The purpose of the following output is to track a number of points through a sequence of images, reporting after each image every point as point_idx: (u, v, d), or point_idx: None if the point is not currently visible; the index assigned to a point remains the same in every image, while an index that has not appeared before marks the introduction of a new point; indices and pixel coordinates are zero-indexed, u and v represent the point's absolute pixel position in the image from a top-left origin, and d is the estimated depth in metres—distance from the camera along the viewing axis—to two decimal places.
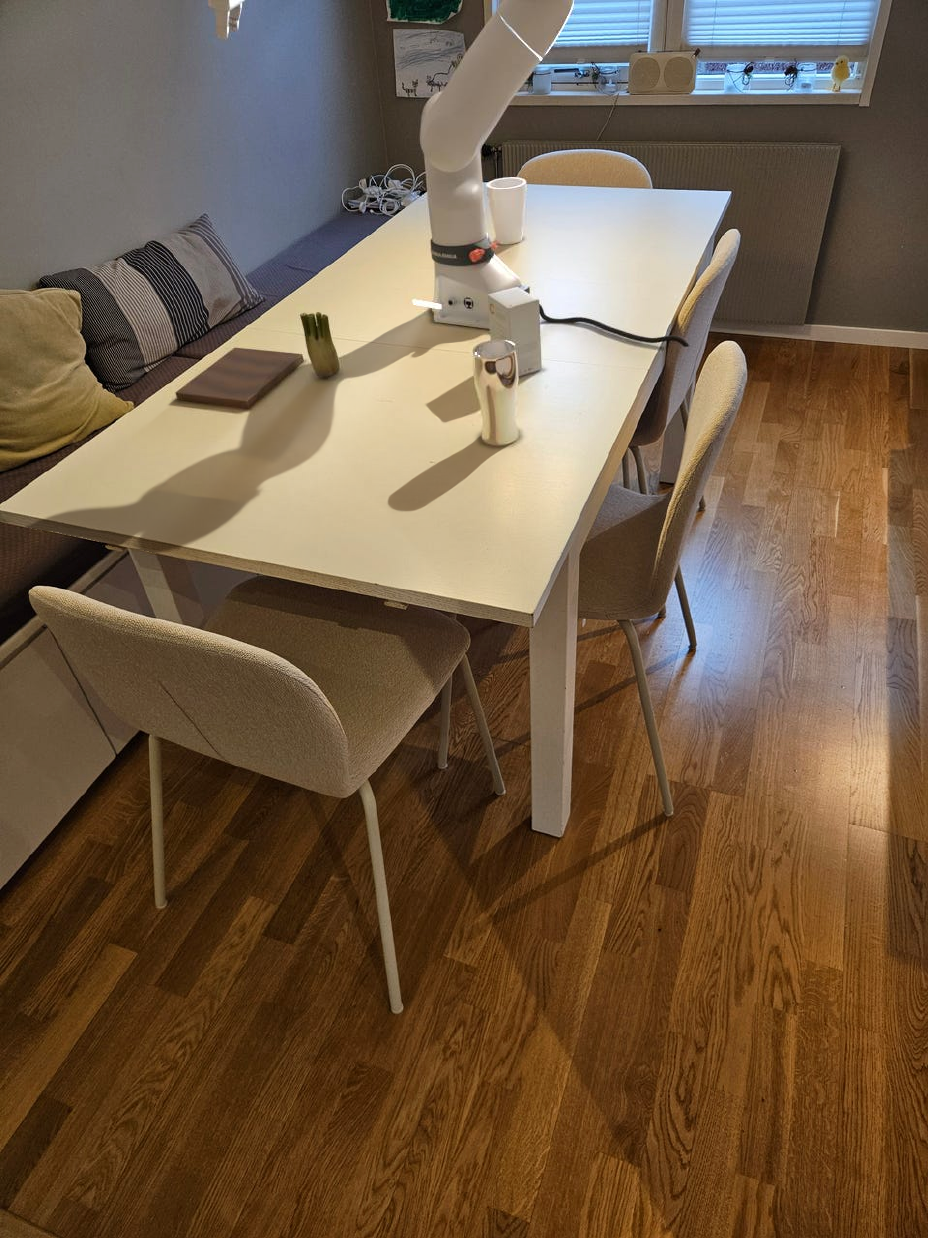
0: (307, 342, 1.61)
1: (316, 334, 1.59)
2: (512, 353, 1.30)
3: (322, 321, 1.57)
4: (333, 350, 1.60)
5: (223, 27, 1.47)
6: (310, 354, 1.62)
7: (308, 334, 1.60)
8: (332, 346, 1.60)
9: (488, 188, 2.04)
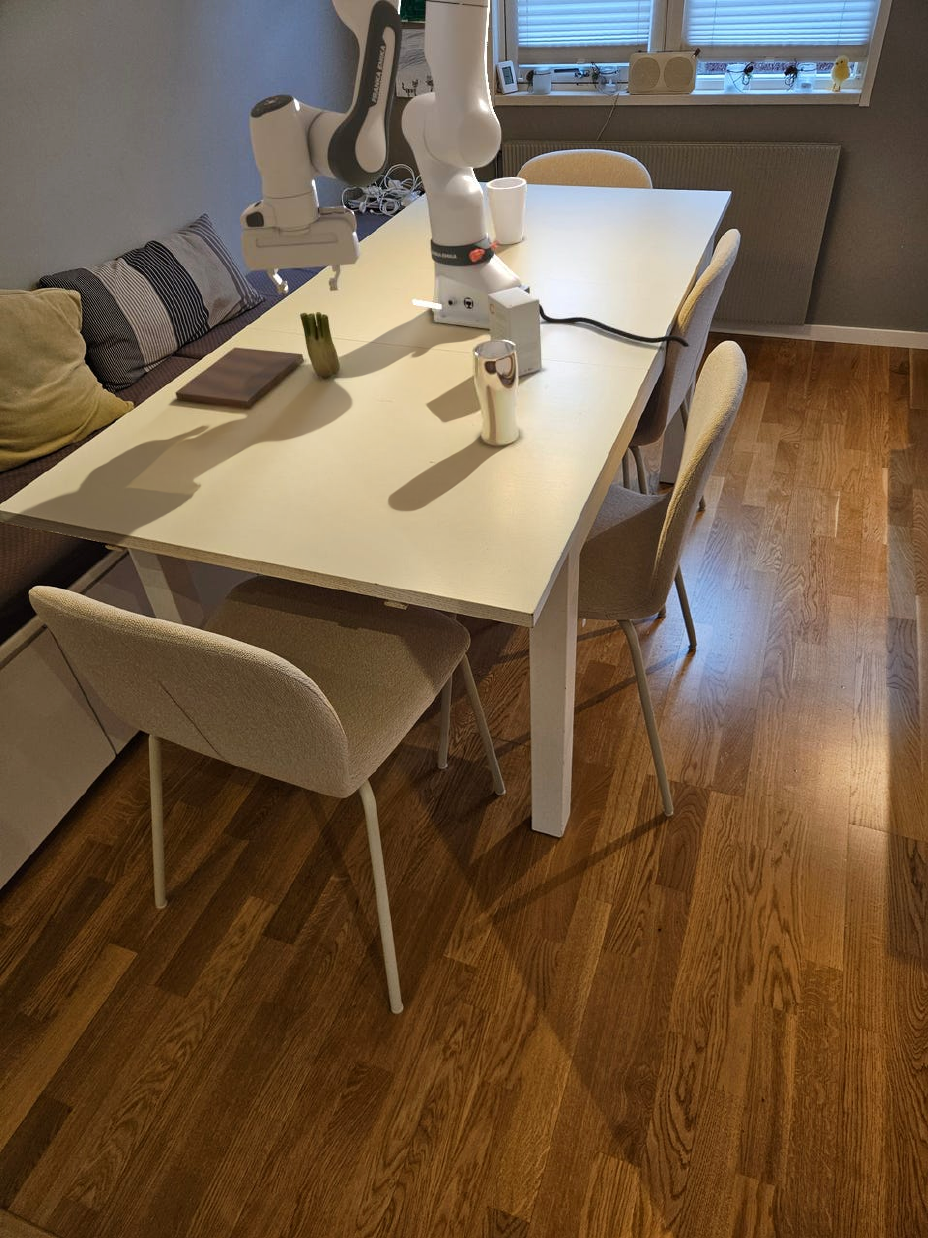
0: (307, 342, 1.61)
1: (316, 334, 1.59)
2: (512, 353, 1.30)
3: (322, 321, 1.57)
4: (333, 350, 1.60)
5: (338, 279, 1.53)
6: (310, 354, 1.62)
7: (308, 334, 1.60)
8: (332, 346, 1.60)
9: (488, 188, 2.04)
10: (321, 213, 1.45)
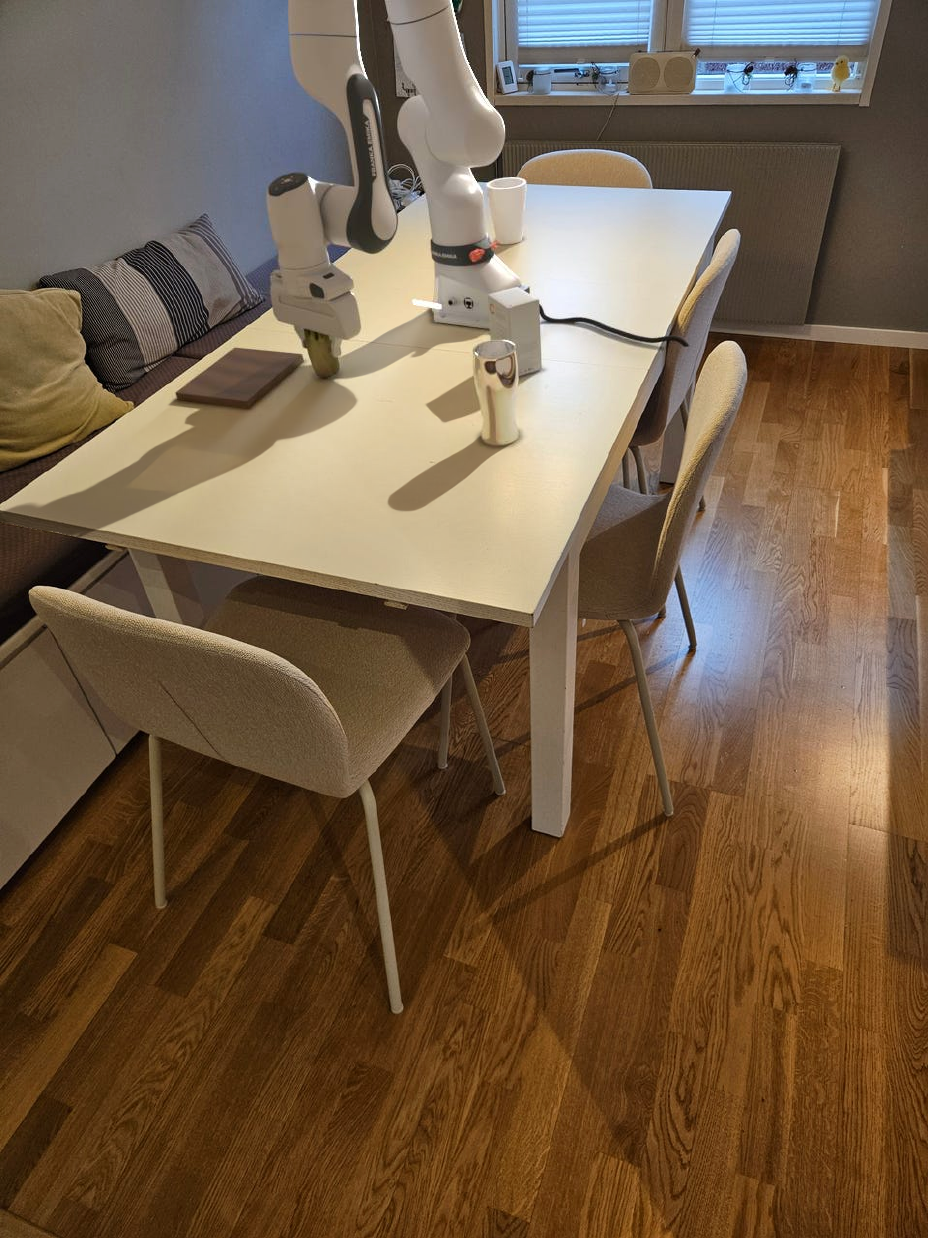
0: (307, 342, 1.61)
1: (316, 334, 1.59)
2: (512, 353, 1.30)
3: None
4: None
5: None
6: (310, 354, 1.62)
7: (308, 334, 1.60)
8: None
9: (488, 188, 2.04)
10: None
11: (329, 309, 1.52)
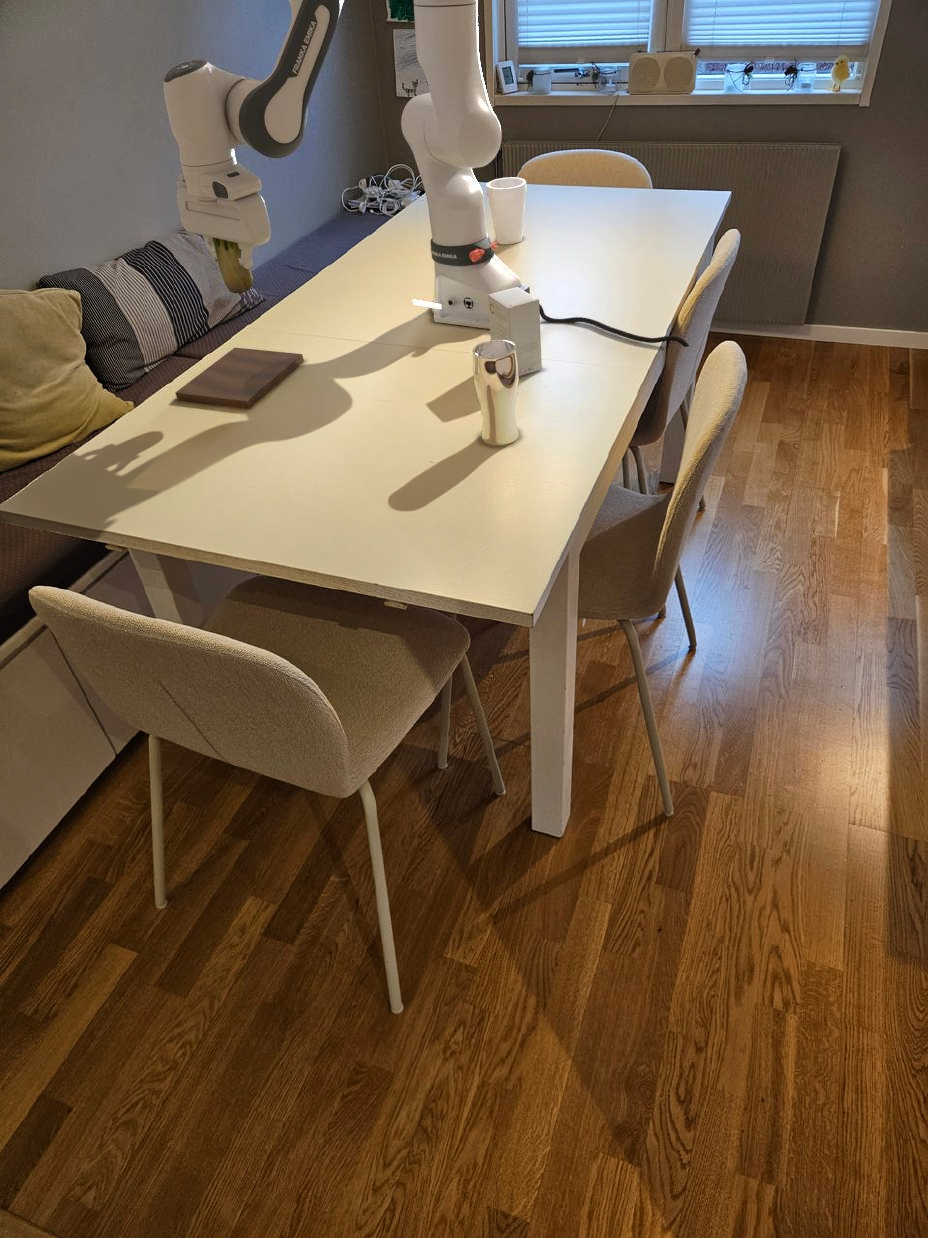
0: (217, 253, 1.51)
1: (226, 244, 1.49)
2: (512, 353, 1.30)
3: None
4: None
5: None
6: (221, 267, 1.51)
7: (217, 244, 1.50)
8: None
9: (488, 188, 2.04)
10: None
11: (235, 212, 1.41)
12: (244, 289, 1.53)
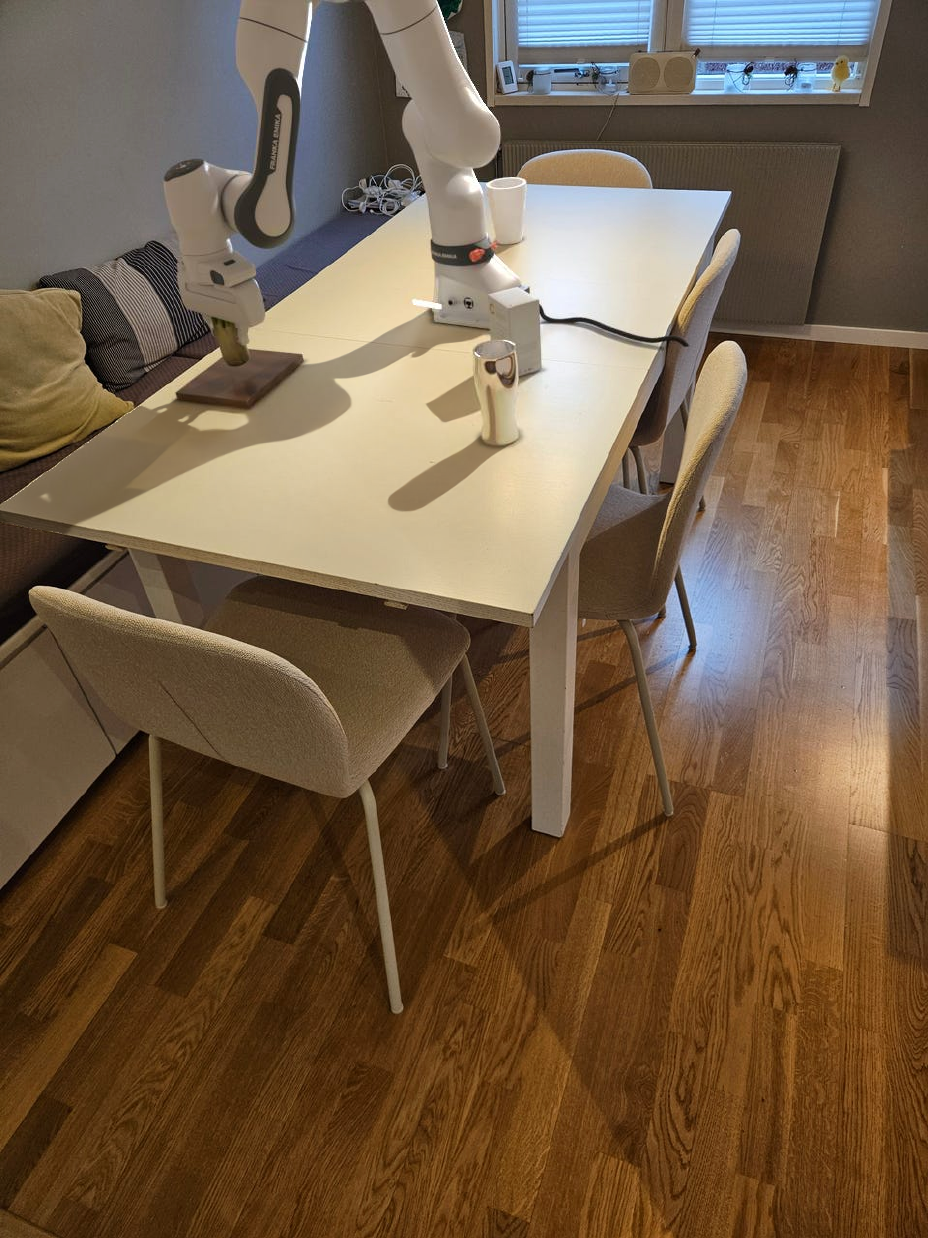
0: (215, 330, 1.60)
1: (223, 322, 1.59)
2: (512, 353, 1.30)
3: None
4: None
5: (212, 326, 1.62)
6: (219, 342, 1.61)
7: (215, 322, 1.59)
8: None
9: (488, 188, 2.04)
10: None
11: (232, 296, 1.51)
12: (241, 363, 1.62)
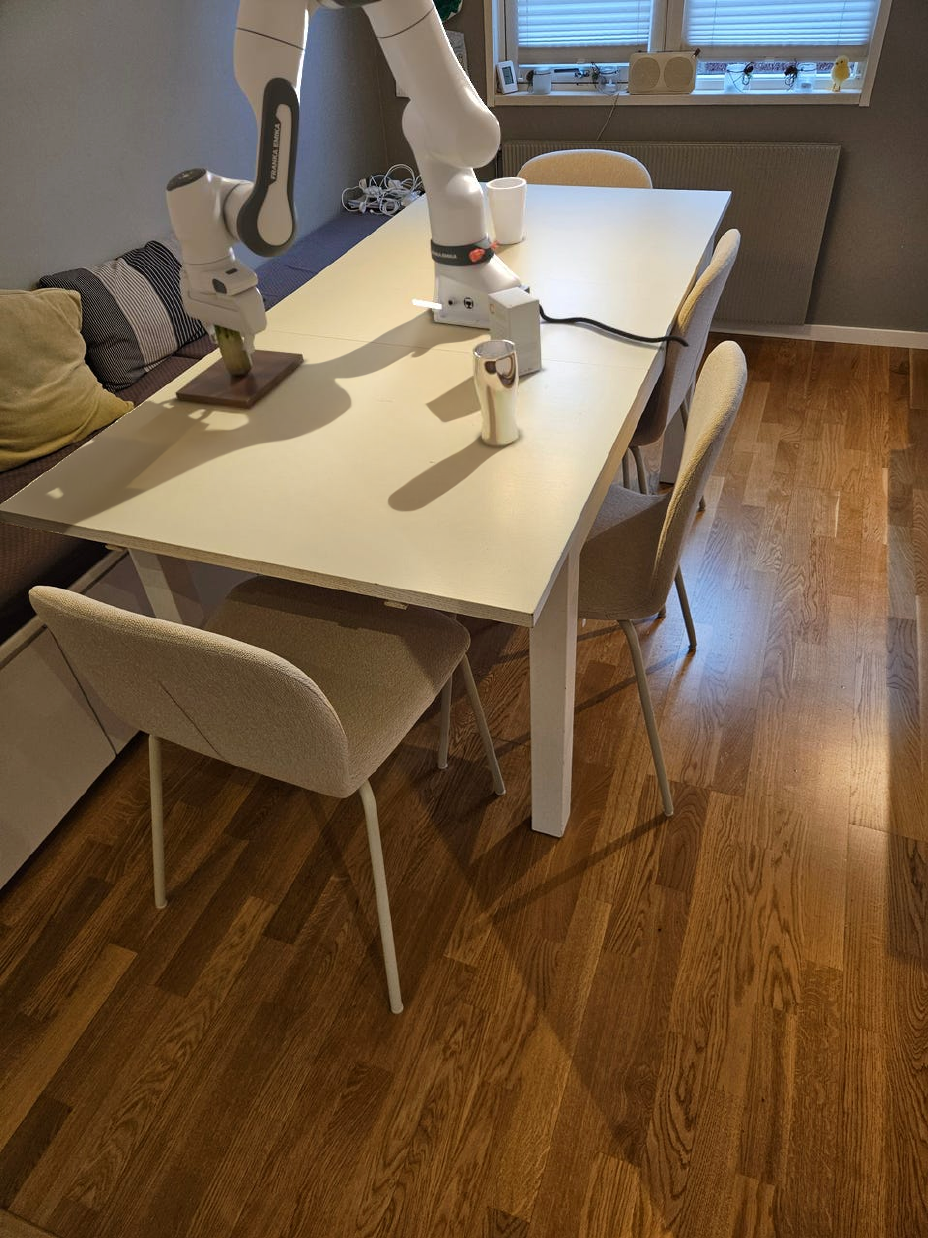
0: (218, 340, 1.62)
1: (226, 332, 1.60)
2: (512, 353, 1.30)
3: None
4: None
5: None
6: (222, 352, 1.62)
7: (218, 332, 1.60)
8: None
9: (488, 188, 2.04)
10: None
11: (234, 304, 1.52)
12: (244, 372, 1.63)
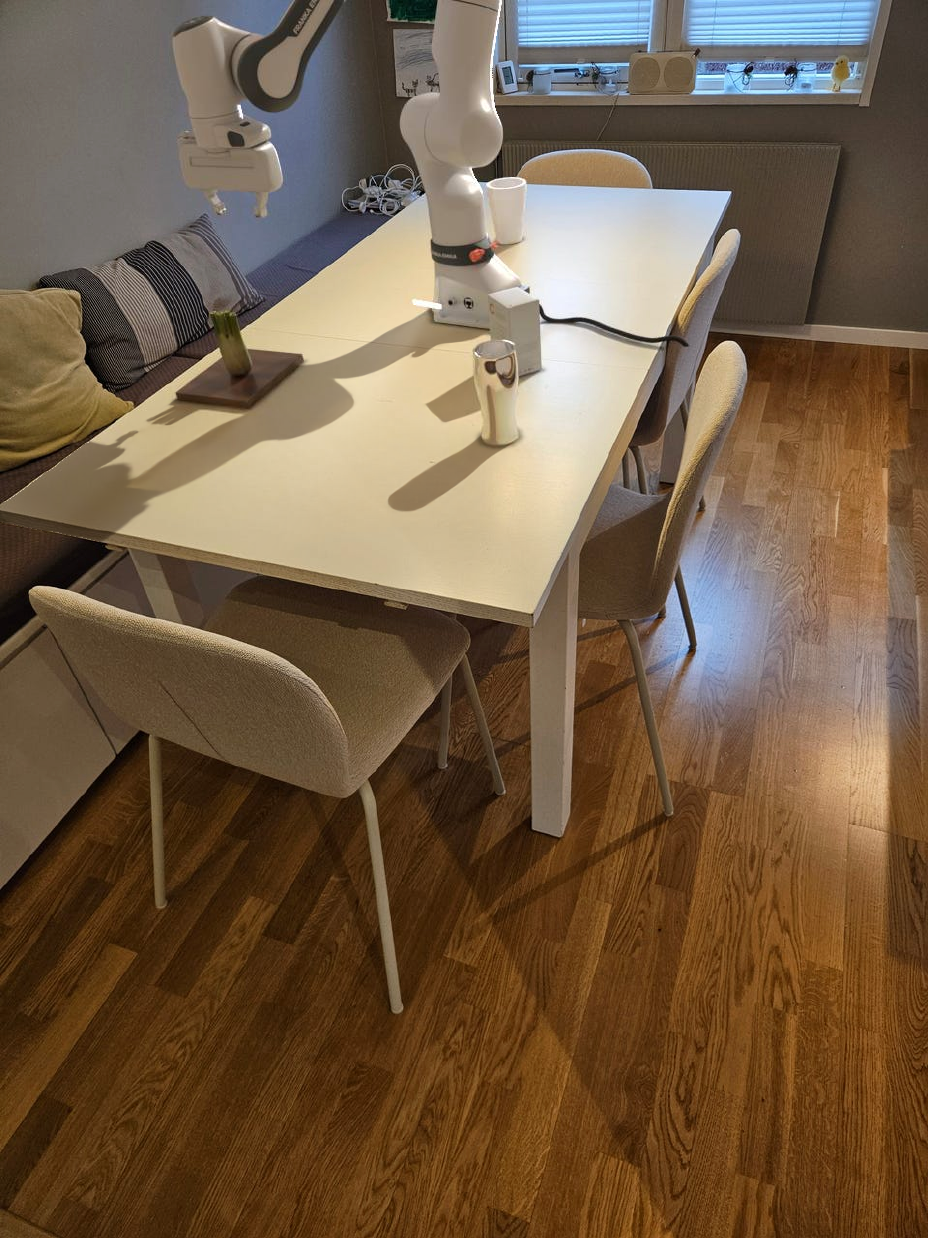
0: (218, 340, 1.62)
1: (226, 332, 1.60)
2: (512, 353, 1.30)
3: (230, 319, 1.57)
4: (243, 348, 1.61)
5: None
6: (222, 352, 1.62)
7: (218, 332, 1.60)
8: (242, 344, 1.60)
9: (488, 188, 2.04)
10: None
11: (249, 160, 1.49)
12: (244, 372, 1.63)
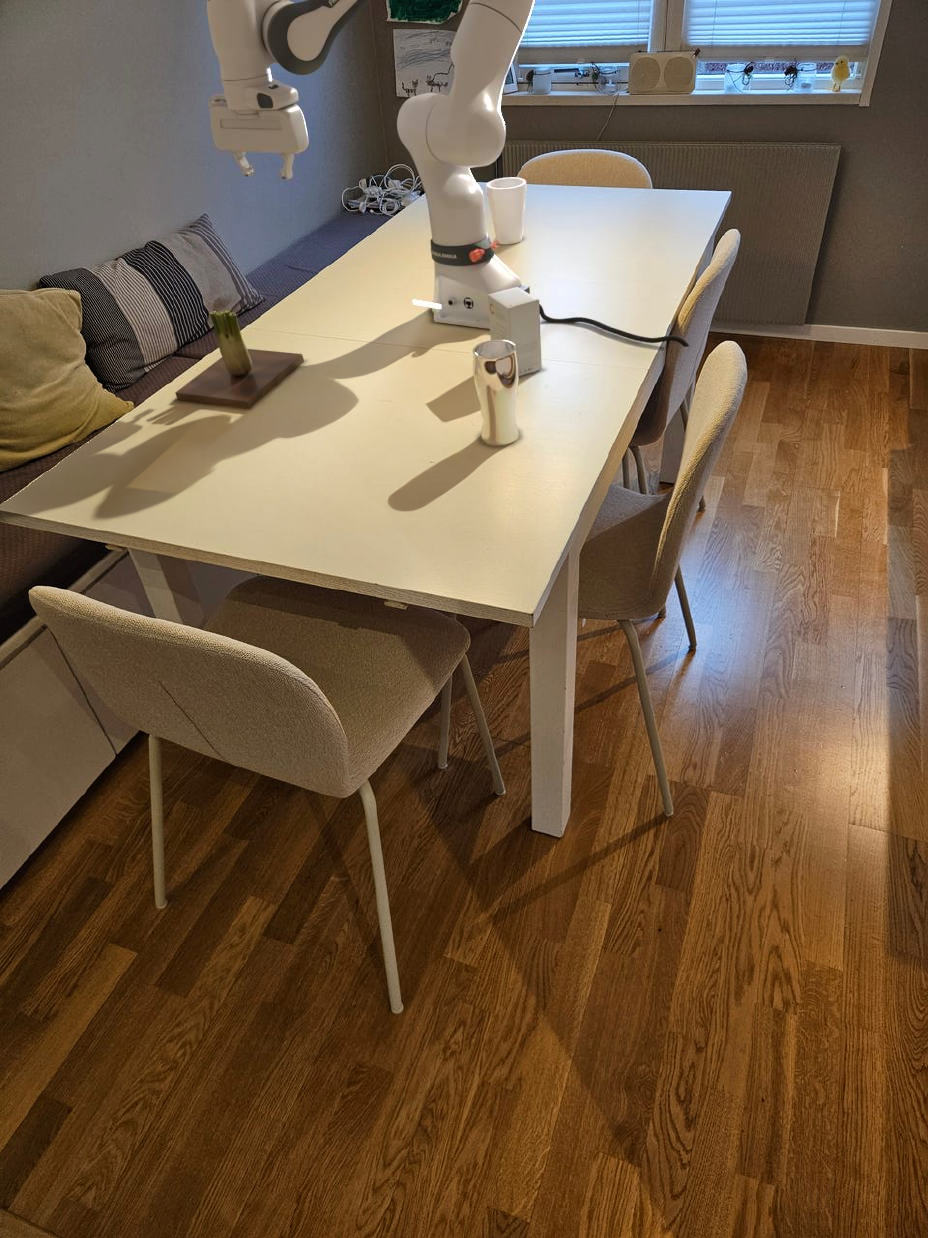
0: (218, 340, 1.62)
1: (226, 332, 1.60)
2: (512, 353, 1.30)
3: (230, 319, 1.57)
4: (243, 348, 1.61)
5: None
6: (222, 352, 1.62)
7: (218, 332, 1.60)
8: (242, 344, 1.60)
9: (488, 188, 2.04)
10: None
11: (277, 122, 1.56)
12: (244, 372, 1.63)
